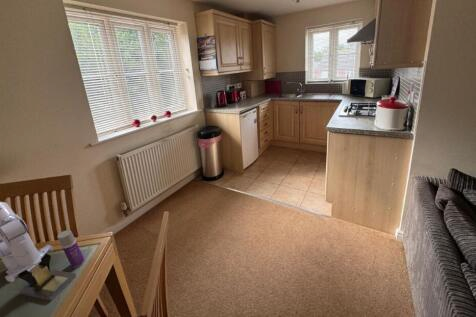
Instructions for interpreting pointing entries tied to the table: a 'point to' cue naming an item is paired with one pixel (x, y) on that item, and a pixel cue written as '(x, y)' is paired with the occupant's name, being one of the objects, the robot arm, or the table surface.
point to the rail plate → (50, 286)
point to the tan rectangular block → (40, 275)
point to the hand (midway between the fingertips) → (40, 278)
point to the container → (71, 248)
